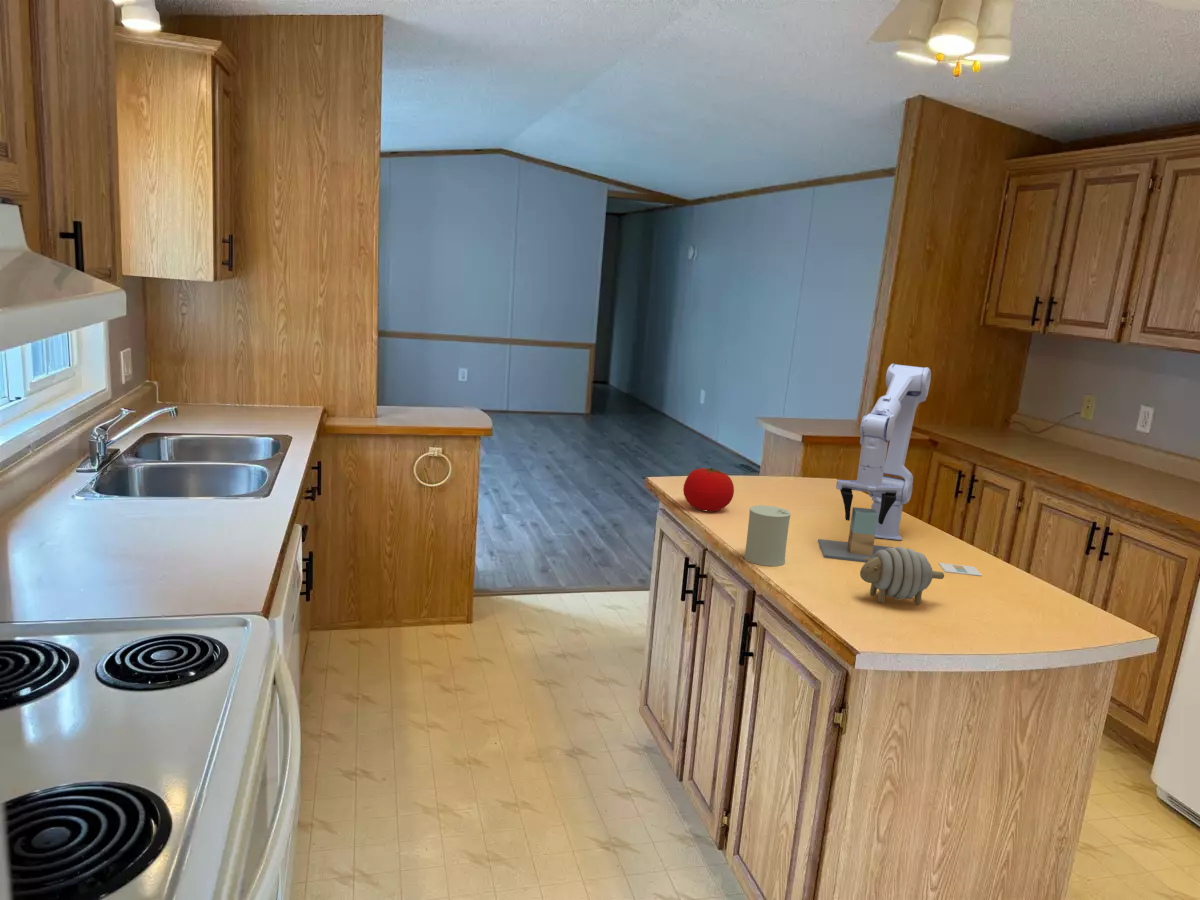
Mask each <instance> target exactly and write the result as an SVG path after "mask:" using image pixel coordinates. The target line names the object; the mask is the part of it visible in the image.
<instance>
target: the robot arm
mask: <svg viewBox="0 0 1200 900" xmlns="http://www.w3.org/2000/svg"><path fill="white" fill-rule="evenodd" d="M931 371H932V370H931V369H930V367H927V366H926V367H923V366H922V367H921V366H913V365H903V364H896V363H891V364H890V365H889V366H888V367H887V370H886V374H885V385H886V388H887V390H886V393H885V395H882V396H880V397H879V398H878V399H877V401H876V402H875V405H874V406H873V407H872V410H871V412H870V413H868V414H867V415H865V414H864V416H863V417H862V420H861V421H860V422H861V423H860V428H859V433H860V434H859V435H860V440H859V444H860V446H861V447H860V453H859V454H860V455H859V461H858V469H857V476H856V480H855V479H854V480H853V479H852V480H850V479H847V480H846V479H836V484H835V485H836V486H835V487H836V490H839V491H840V494H841V497H842V502H843V506H844V513H845V514H844V515H845V517H844V519H845V521H848V522H849V521H851V511H852V510H851V508H852V502H853V498H854V494H853V491H856V492H857V491H858V492H867V493H868V495H869V497H870V498H871V501H873V502H872V504H871V505H870V506H871V507H870V509H874V510H875V511H876V513H877V514H878V518H877V525H876V532H875V538H877V539H887V540H896V541H903V538H902V536H901V535H900V527H901V520H902V514H903V513H902V512H903V507H904V504H905V505H906V504H907V503H909V501H910V500H911V497H912V493H913V483H914V475H913V473H912V472H911V471H910V470H909V469H908V468H907V467H906V466H905V463H906V459H907V454H908V449H909V444H910V439H911V434H912V430H913V426H914V421H915V415H916V413H917V408H918V407H919V405H920V403H923V402H925V401H927V397H928V395H929V391H930V385H931V382H932V381H931V380H932V379H931V378H932V372H931ZM894 476H895V477H894Z"/></svg>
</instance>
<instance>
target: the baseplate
mask: <svg viewBox="0 0 1200 900" xmlns="http://www.w3.org/2000/svg"><path fill="white" fill-rule="evenodd" d="M817 542H818V545H819V548H820V550H821V553H822V556H823V558H825V559H832V560H833V559H835V560H843V561H850V562H851V561H852V562H860V563H866V562H867V561H866V558H870V559H872V558H873V556H874V554H875V553H876V552H877V551H878V550H885V549H887V548H894V546H893V547H892V546H885V545H878V544H877V545H876V544H874V546H873V553H872V556H871V555H862V554H853V553H850V551H849V549H848V547H847V546H848V541H841V540H833V539H832V540H829V539H822V538H818V540H817Z"/></svg>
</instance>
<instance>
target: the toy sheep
mask: <svg viewBox="0 0 1200 900" xmlns="http://www.w3.org/2000/svg"><path fill="white" fill-rule="evenodd" d="M866 561H867V562H864V563H863V565H862V566H861V568H860V571H859V576H860V578H861V580H862V581H864V582H866V583H870V590H869V594H870V595H871V596H876V594H877V590H878V594H877V595H878V596H877V602H879V604H883V603H885V598H886V596H887V597H893V598H894V599H895V600H900V601H902V600H903V599H908V600H910V599H913V598H914V601H913V604H914V605H916V606H919V605H921V601H922V594H923V591H924V590H926V589H928V587H929V586H930V585H931V584H932V583H931V582H932V581H933V579H937V580H943V579H944V577H945V574H944V572H942V571H939V570H937V571H935V570H933V567H932V566H931V564H930V562H929V560H928V558H927V557H926V555H925V554H924V553H922V552H919V551H918V552H916V551H915V550H914V549H911V548H905V547H904V546H903V547H902V546H896V547H893V548H887V549H885V550H878V551H877V552H876V553H875V554H874V556H873V558H872V559H870V558H866Z"/></svg>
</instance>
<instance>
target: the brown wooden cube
mask: <svg viewBox="0 0 1200 900" xmlns="http://www.w3.org/2000/svg"><path fill="white" fill-rule="evenodd" d="M875 538H876V537H875V535H868V534H859V533H853V532H852V530H851V528H850V527H849V533H848V538H847V539H848V540H847V542H848V546H847V547H848V549H849V551H850V553H853V554H862V555H871V556H872V553H873V546H874V545H875V540H876V539H875Z"/></svg>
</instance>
